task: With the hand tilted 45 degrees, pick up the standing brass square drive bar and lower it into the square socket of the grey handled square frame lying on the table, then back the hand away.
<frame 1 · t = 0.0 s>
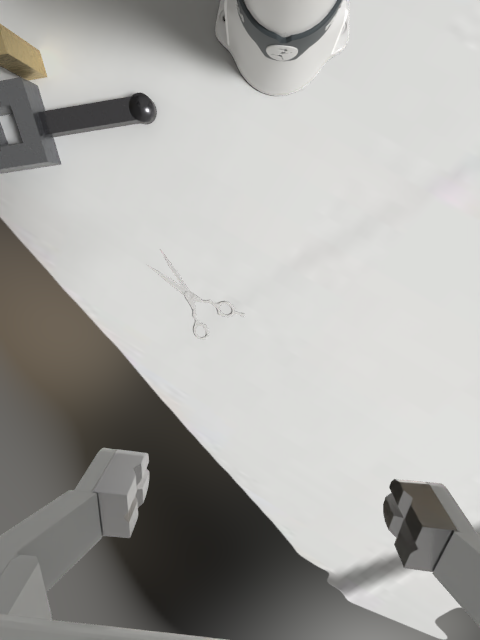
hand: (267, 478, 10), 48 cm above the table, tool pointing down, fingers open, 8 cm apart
drive bar: (33, 65, 46), on the table
scissors: (191, 294, 59), on the table
grey handled square frame: (18, 131, 50), on the table
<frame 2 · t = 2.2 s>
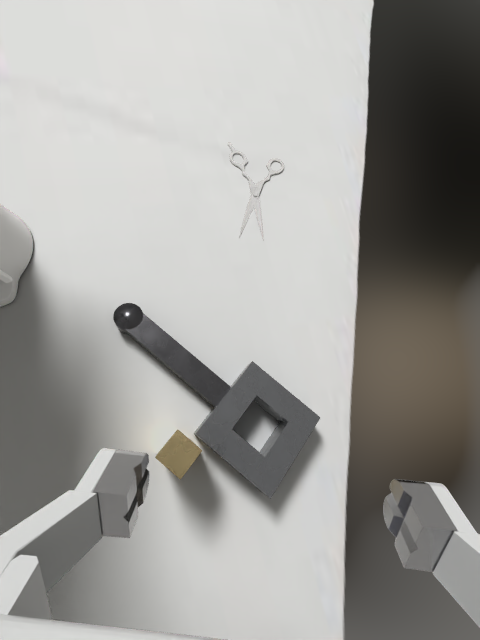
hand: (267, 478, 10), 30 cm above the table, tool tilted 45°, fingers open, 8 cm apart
drive bar: (178, 448, 37), on the table
scissors: (253, 194, 53), on the table
grey handled square frame: (253, 425, 40), on the table
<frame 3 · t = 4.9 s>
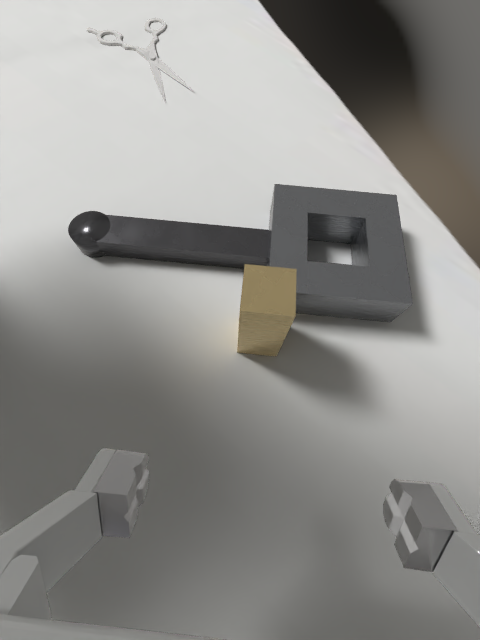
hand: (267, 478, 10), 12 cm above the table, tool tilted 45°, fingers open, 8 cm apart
drive bar: (258, 336, 25), on the table
scissors: (150, 62, 41), on the table
grey handled square frame: (325, 262, 28), on the table
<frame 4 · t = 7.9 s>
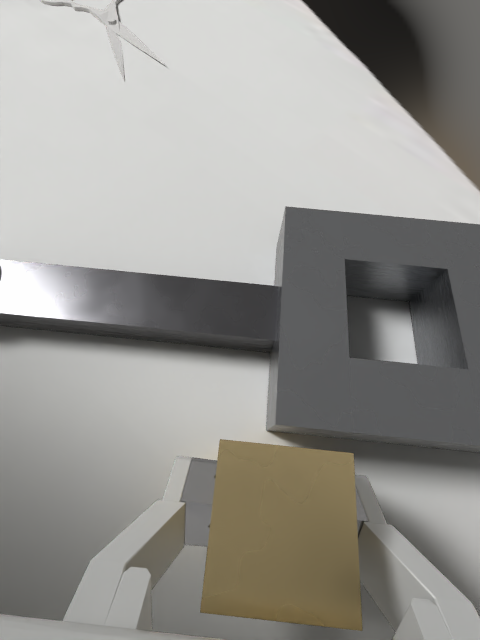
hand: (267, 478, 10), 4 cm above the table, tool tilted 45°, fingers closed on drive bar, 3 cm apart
drive bar: (256, 486, 14), on the table, touching gripper
scissors: (110, 29, 30), on the table
grey handled square frame: (369, 336, 17), on the table
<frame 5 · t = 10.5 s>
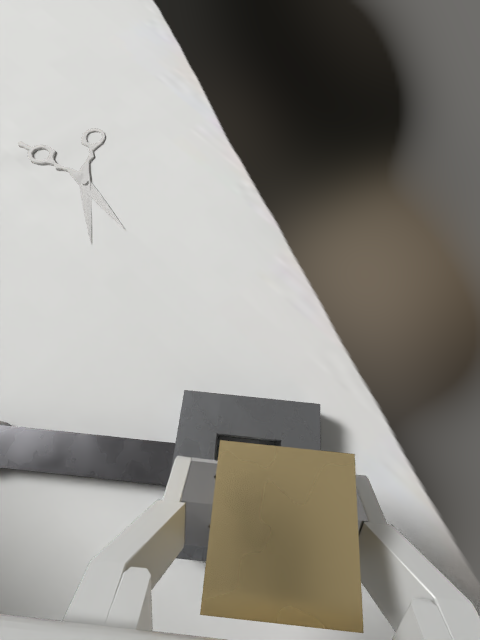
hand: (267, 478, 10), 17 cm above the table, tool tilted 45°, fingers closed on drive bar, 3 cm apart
drive bar: (256, 487, 14), point 13 cm above the table, touching gripper
scissors: (84, 184, 39), on the table
grey handled square frame: (244, 470, 26), on the table
when the fingers open (6 cm above the table, at t = 13.2 s): drive bar drops 1 cm, resting in grey handled square frame.
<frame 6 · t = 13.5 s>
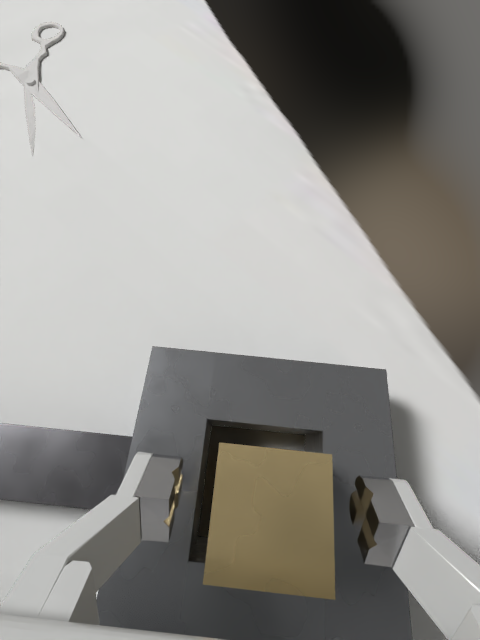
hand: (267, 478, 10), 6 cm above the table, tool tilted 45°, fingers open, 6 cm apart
drive bar: (253, 484, 15), resting in grey handled square frame
scissors: (31, 88, 28), on the table
grey handled square frame: (254, 482, 15), on the table
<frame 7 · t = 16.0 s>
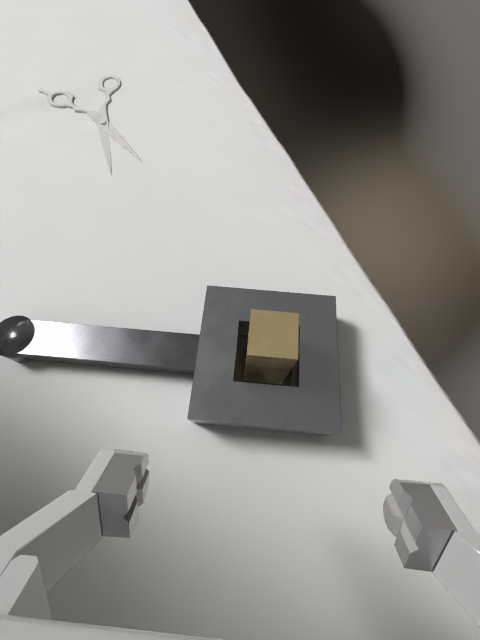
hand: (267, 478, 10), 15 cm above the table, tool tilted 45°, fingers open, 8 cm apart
drive bar: (263, 364, 27), resting in grey handled square frame
scissors: (101, 125, 40), on the table
grey handled square frame: (263, 363, 27), on the table
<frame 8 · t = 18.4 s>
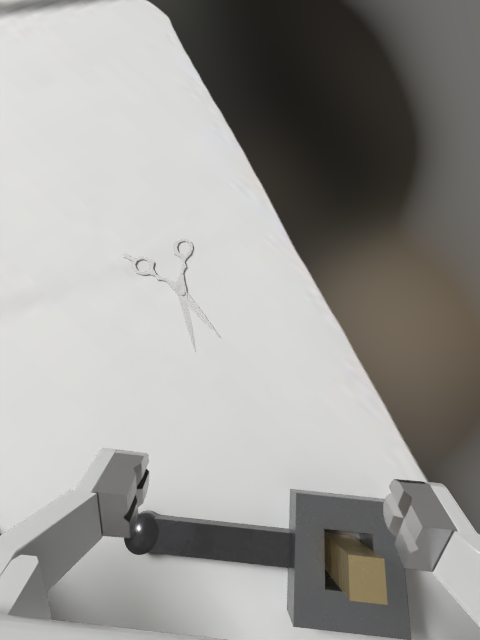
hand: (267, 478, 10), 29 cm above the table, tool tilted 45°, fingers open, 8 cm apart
drive bar: (337, 551, 34), resting in grey handled square frame
scissors: (180, 292, 47), on the table
grey handled square frame: (338, 550, 34), on the table
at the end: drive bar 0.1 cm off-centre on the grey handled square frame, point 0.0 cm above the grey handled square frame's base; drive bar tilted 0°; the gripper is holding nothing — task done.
